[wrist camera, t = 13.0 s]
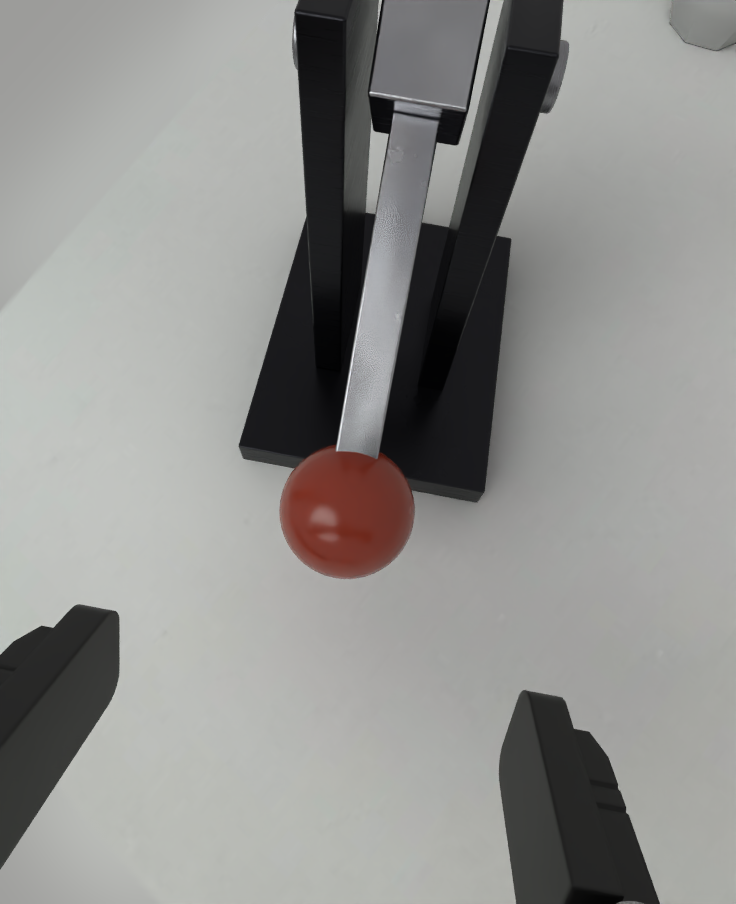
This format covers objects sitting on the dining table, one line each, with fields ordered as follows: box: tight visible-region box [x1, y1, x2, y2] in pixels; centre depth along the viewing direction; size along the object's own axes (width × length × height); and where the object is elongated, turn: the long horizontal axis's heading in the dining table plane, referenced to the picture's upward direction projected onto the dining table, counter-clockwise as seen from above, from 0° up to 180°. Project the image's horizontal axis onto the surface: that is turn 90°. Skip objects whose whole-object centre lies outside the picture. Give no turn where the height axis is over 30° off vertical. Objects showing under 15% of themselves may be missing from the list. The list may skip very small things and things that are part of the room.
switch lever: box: [280, 0, 490, 579], centre depth 14 cm, size 14×4×4 cm
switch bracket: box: [239, 0, 569, 502], centre depth 18 cm, size 12×9×14 cm
